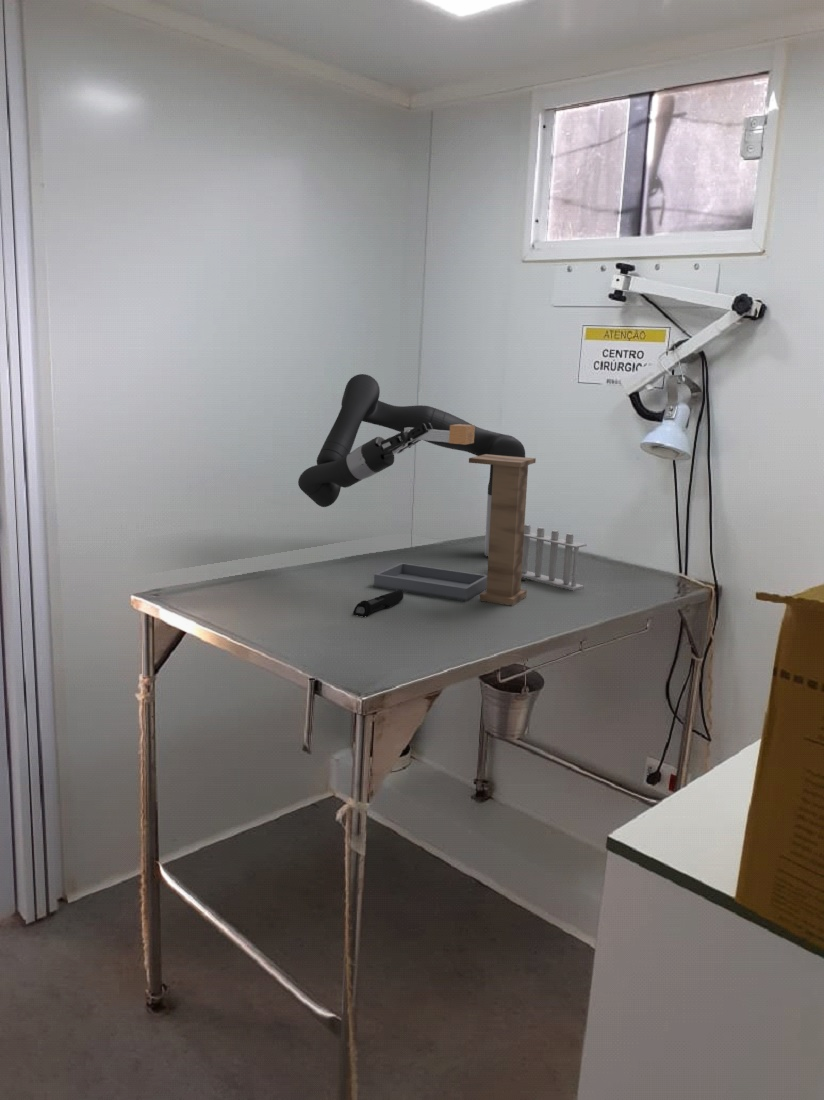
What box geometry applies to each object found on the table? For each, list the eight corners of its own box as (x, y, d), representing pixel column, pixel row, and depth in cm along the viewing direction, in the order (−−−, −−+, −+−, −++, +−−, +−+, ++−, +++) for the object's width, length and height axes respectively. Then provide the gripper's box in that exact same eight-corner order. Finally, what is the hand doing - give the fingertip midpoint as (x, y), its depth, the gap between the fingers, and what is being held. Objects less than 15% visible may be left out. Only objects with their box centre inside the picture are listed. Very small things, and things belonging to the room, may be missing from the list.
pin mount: (478, 588, 205) (485, 454, 198) (527, 596, 200) (535, 458, 193) (462, 598, 197) (468, 458, 190) (512, 606, 191) (520, 462, 184)
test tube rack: (583, 588, 209) (587, 535, 206) (572, 591, 206) (576, 537, 203) (505, 568, 227) (508, 518, 224) (494, 570, 224) (497, 520, 221)
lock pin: (410, 437, 203) (411, 420, 202) (473, 443, 197) (474, 425, 196) (401, 438, 199) (402, 421, 198) (465, 444, 192) (466, 426, 191)
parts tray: (401, 574, 216) (401, 562, 216) (488, 587, 206) (489, 575, 206) (374, 586, 204) (374, 574, 204) (466, 601, 194) (466, 588, 193)
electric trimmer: (407, 604, 193) (408, 590, 192) (366, 619, 180) (366, 604, 179) (393, 601, 195) (394, 587, 194) (351, 615, 182) (352, 601, 181)
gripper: (390, 470, 212) (447, 439, 204) (362, 476, 200) (422, 443, 192) (377, 442, 212) (434, 410, 204) (349, 446, 200) (408, 413, 192)
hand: (428, 427), depth 198 cm, fingers closed on lock pin, 2 cm apart
